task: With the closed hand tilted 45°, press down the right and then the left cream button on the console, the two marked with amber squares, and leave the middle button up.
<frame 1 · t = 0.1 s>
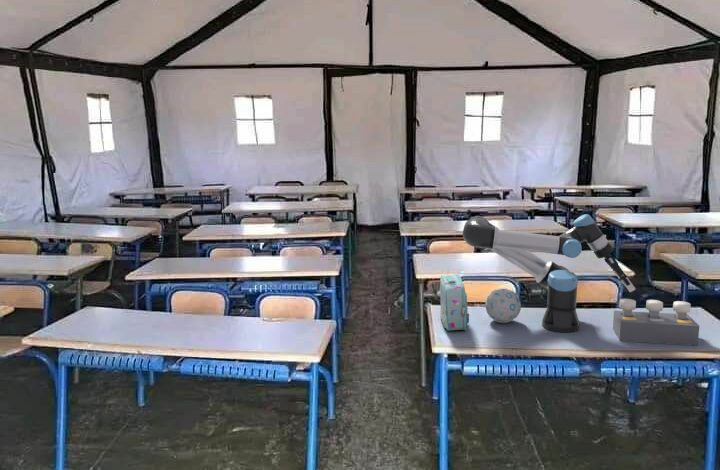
hand: (629, 286, 248), 15 cm above the table, tool tilted 35°, fingers open, 13 cm apart
button middle: (653, 311, 231), point 10 cm above the table, slide at 0.0 cm
lunch box: (453, 324, 250), on the table
console: (653, 336, 231), on the table
button left: (627, 310, 233), point 10 cm above the table, slide at 0.0 cm
button right: (681, 312, 229), point 10 cm above the table, slide at 0.0 cm
puzzle ball: (502, 322, 252), on the table
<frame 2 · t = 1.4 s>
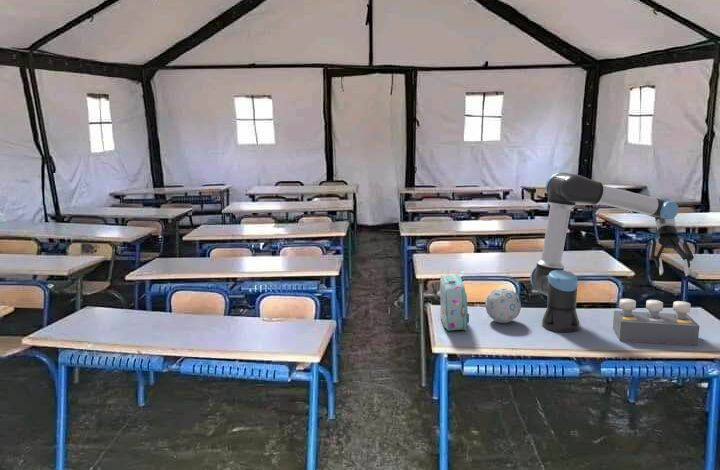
hand: (674, 273, 238), 23 cm above the table, tool tilted 45°, fingers open, 9 cm apart
nothing on the table moved.
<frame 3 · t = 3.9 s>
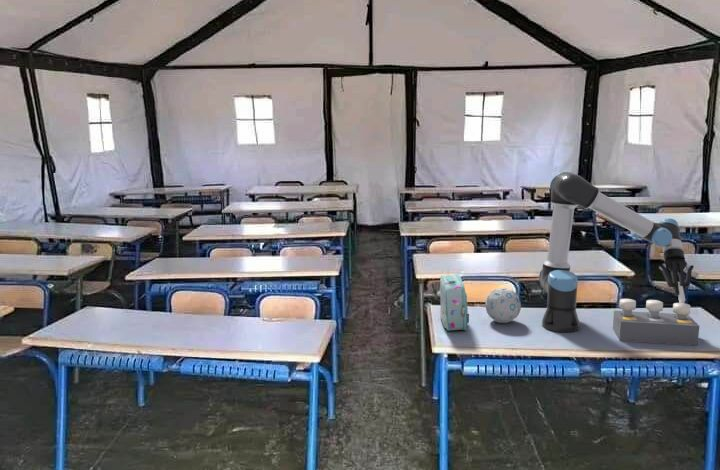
hand: (682, 301, 228), 15 cm above the table, tool tilted 45°, fingers closed
button right: (681, 314, 229), point 9 cm above the table, slide at 0.7 cm, touching gripper
everything else where it was.
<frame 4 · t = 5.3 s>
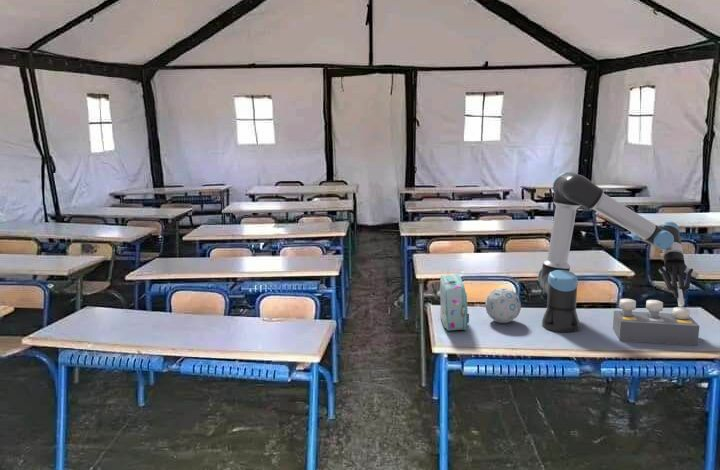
hand: (681, 305, 229), 13 cm above the table, tool tilted 45°, fingers closed
button right: (680, 319, 229), point 7 cm above the table, slide at 2.6 cm
everything else where it was.
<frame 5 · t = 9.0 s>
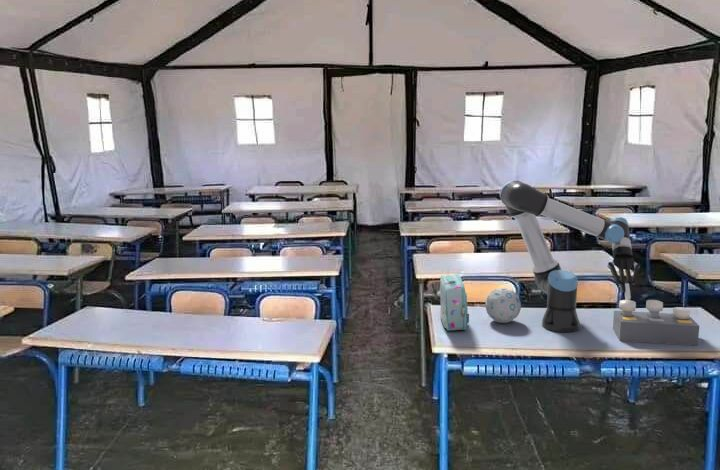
hand: (628, 298, 232), 15 cm above the table, tool tilted 45°, fingers closed
button left: (627, 311, 233), point 9 cm above the table, slide at 0.5 cm
everything else where it was.
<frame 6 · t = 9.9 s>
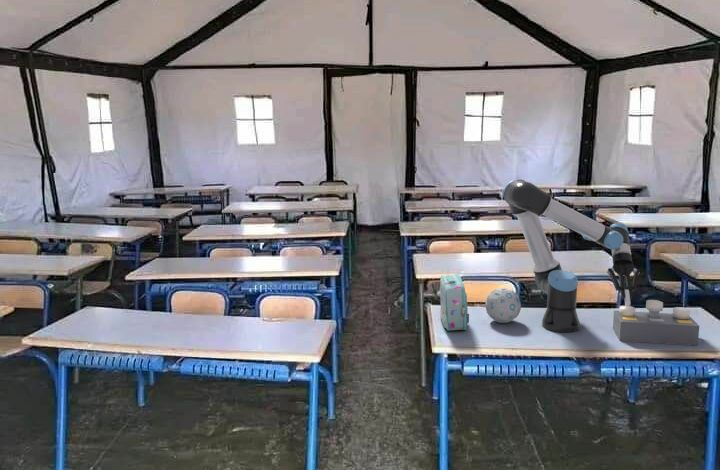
hand: (627, 305, 233), 12 cm above the table, tool tilted 45°, fingers closed
button left: (626, 317, 234), point 7 cm above the table, slide at 3.0 cm, touching console, gripper
everything else where it was.
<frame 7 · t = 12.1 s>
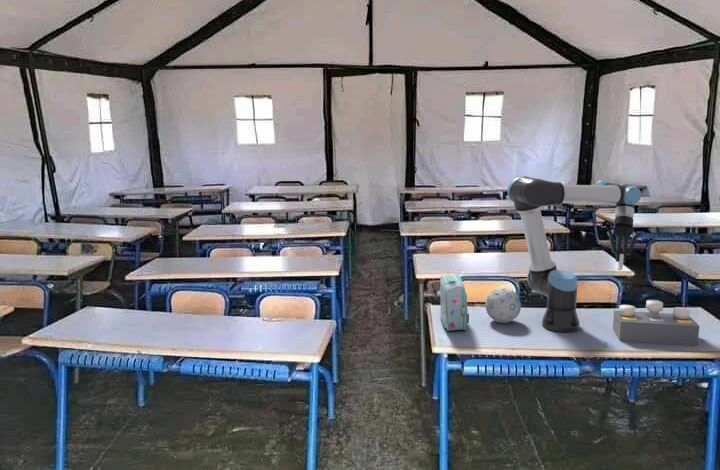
hand: (620, 269, 246), 23 cm above the table, tool tilted 30°, fingers closed
button left: (626, 316, 234), point 7 cm above the table, slide at 2.6 cm
everything else where it was.
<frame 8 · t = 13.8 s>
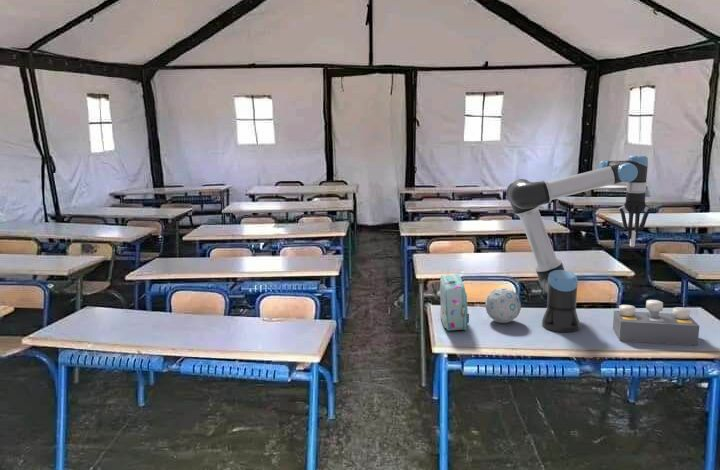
hand: (632, 245, 249), 32 cm above the table, tool pointing down, fingers closed
nothing on the table moved.
at the end: button right slide at 2.6 cm; button left slide at 2.6 cm; button middle slide at 0.0 cm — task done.
